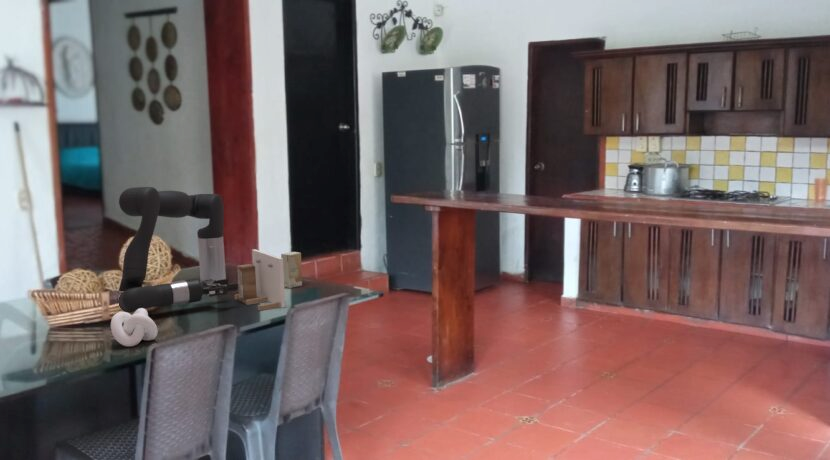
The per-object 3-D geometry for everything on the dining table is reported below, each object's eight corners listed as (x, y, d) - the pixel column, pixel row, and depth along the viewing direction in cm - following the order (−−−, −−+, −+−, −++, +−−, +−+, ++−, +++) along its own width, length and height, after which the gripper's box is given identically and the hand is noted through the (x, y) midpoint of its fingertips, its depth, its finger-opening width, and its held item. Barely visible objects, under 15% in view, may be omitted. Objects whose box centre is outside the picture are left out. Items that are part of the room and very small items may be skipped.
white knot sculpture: (112, 339, 219) (110, 308, 217) (157, 333, 223) (154, 303, 222) (112, 350, 208) (109, 318, 207) (158, 344, 212) (156, 313, 211)
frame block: (238, 300, 260) (236, 265, 258) (251, 298, 262) (249, 264, 261) (244, 303, 256) (241, 268, 254) (257, 301, 259) (255, 266, 257)
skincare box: (290, 288, 276) (288, 255, 274) (281, 287, 279) (280, 253, 277) (303, 285, 281) (301, 252, 279) (294, 283, 284) (293, 251, 282)
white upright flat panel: (233, 298, 263) (231, 252, 261) (257, 294, 268) (255, 249, 265) (260, 311, 245) (257, 262, 243) (285, 306, 250) (282, 258, 248)
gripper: (190, 284, 240) (240, 276, 249) (176, 276, 252) (224, 269, 261) (192, 307, 241) (241, 299, 250) (178, 299, 253) (225, 291, 262)
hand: (232, 284), depth 256 cm, fingers open, 8 cm apart
